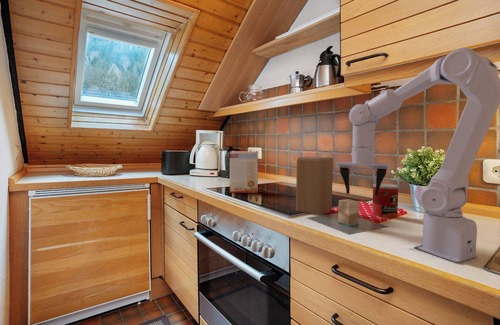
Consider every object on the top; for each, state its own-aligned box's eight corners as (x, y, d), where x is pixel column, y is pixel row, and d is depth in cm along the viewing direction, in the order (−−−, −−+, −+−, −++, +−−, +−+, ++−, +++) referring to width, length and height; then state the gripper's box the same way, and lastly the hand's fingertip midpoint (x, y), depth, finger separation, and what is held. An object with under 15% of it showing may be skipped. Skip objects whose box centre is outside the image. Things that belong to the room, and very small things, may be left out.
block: (307, 208, 105) (308, 156, 104) (332, 212, 99) (334, 157, 97) (294, 212, 97) (295, 157, 96) (320, 217, 91) (322, 158, 90)
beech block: (358, 225, 80) (359, 201, 79) (348, 226, 78) (349, 202, 78) (347, 221, 84) (348, 199, 83) (338, 223, 82) (338, 200, 81)
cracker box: (257, 191, 142) (258, 151, 140) (256, 193, 136) (257, 151, 134) (231, 190, 143) (231, 151, 142) (229, 192, 137) (229, 151, 136)
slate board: (389, 229, 79) (389, 226, 79) (349, 237, 72) (349, 234, 71) (342, 214, 95) (342, 212, 95) (306, 220, 88) (306, 217, 88)
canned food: (383, 220, 88) (385, 187, 87) (366, 214, 95) (367, 183, 94) (402, 219, 90) (404, 186, 89) (384, 213, 97) (385, 183, 97)
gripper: (390, 147, 79) (389, 193, 80) (338, 147, 85) (337, 190, 86) (392, 147, 72) (390, 197, 73) (335, 147, 78) (334, 194, 79)
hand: (361, 194), depth 79 cm, fingers open, 7 cm apart
